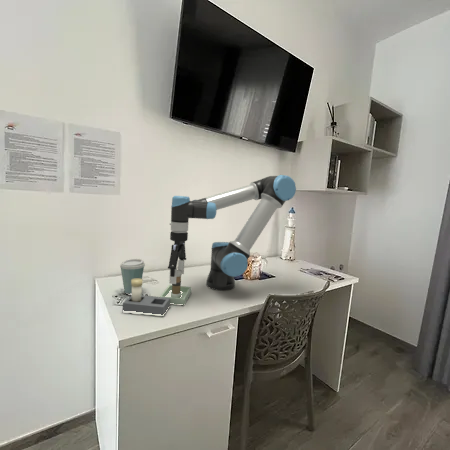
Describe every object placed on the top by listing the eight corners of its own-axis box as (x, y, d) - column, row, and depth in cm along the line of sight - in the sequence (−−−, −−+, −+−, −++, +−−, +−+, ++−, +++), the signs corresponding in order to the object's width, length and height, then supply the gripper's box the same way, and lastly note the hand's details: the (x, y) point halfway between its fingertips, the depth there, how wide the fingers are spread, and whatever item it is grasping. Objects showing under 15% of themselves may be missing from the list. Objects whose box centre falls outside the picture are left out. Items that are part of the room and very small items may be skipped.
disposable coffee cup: (129, 299, 113) (130, 265, 111) (114, 293, 119) (114, 260, 117) (148, 292, 122) (150, 261, 120) (133, 286, 128) (134, 256, 126)
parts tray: (190, 293, 125) (191, 287, 124) (183, 306, 110) (184, 299, 110) (169, 290, 126) (169, 284, 125) (159, 303, 111) (159, 296, 111)
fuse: (143, 307, 107) (144, 278, 106) (139, 311, 103) (140, 282, 101) (133, 306, 107) (134, 277, 106) (128, 310, 103) (129, 281, 102)
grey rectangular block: (169, 307, 109) (170, 297, 108) (163, 317, 100) (163, 307, 99) (132, 303, 110) (132, 294, 109) (122, 312, 101) (122, 303, 100)
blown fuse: (181, 295, 120) (182, 270, 118) (179, 299, 116) (180, 272, 114) (172, 294, 120) (173, 269, 119) (170, 298, 116) (170, 272, 114)
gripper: (178, 227, 127) (176, 269, 129) (161, 235, 102) (159, 287, 105) (193, 228, 126) (191, 270, 129) (180, 236, 102) (177, 289, 104)
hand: (176, 278), depth 117 cm, fingers open, 13 cm apart
